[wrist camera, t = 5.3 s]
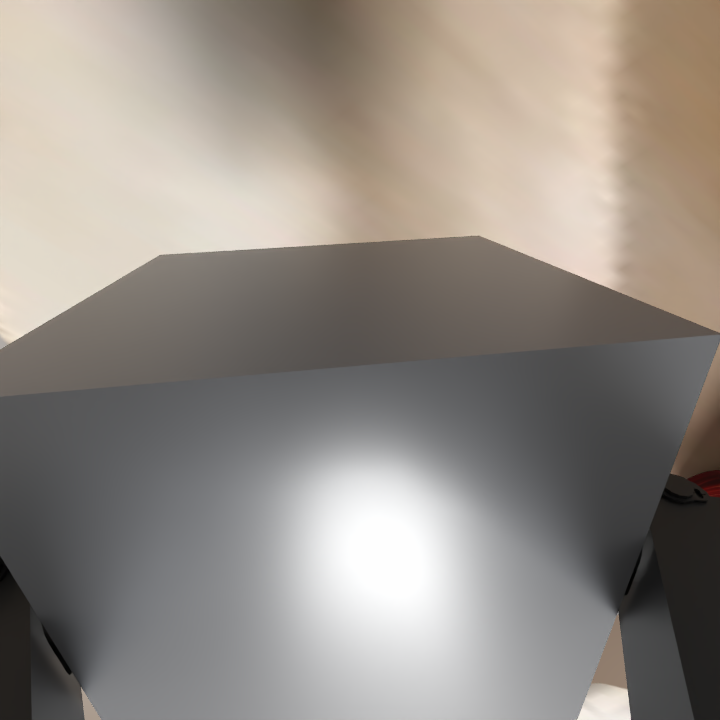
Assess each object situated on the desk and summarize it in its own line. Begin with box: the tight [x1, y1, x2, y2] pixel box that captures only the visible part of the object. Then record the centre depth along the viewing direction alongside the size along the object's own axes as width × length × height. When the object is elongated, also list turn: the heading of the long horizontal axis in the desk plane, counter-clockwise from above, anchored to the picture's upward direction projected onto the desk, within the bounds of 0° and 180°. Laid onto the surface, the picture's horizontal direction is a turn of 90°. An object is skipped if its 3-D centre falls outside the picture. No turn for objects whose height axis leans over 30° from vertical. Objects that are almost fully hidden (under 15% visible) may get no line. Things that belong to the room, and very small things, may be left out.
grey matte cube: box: [0, 236, 720, 720], centre depth 11 cm, size 10×10×9 cm
